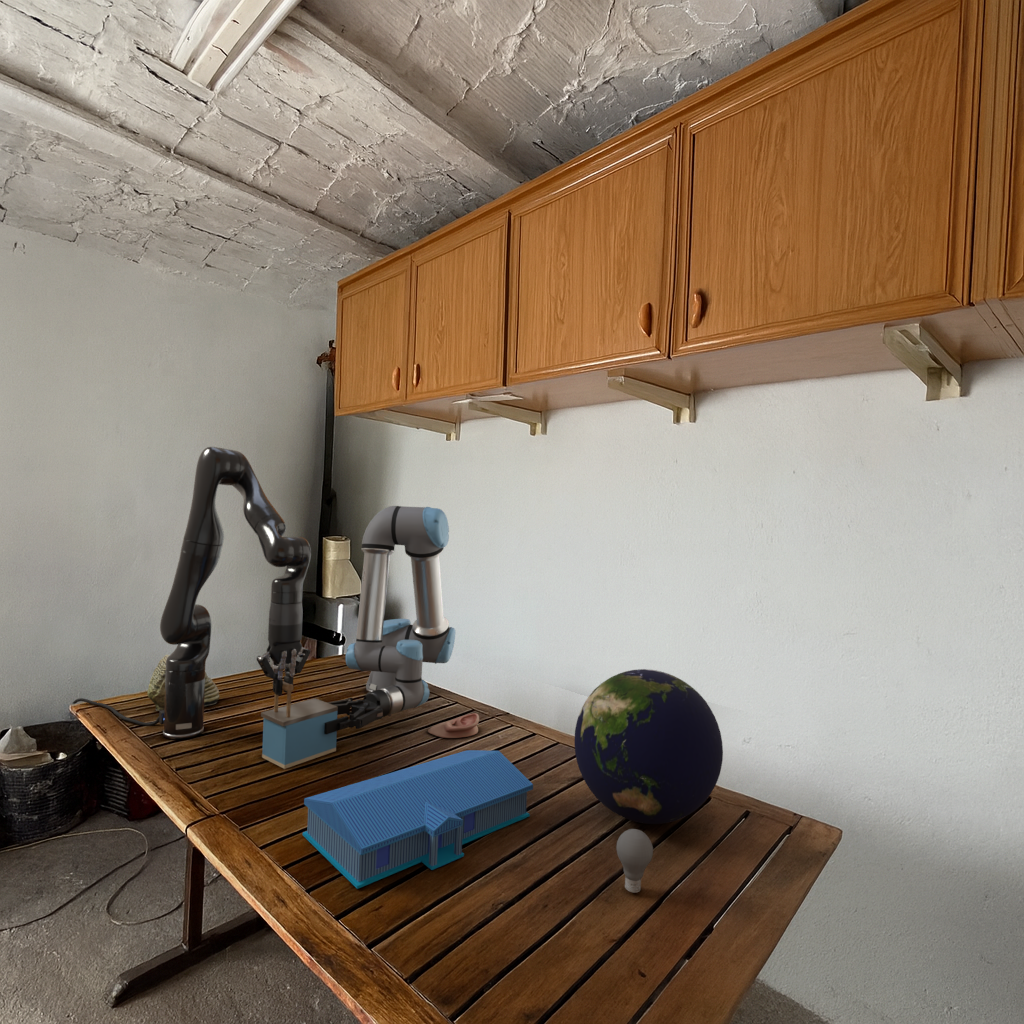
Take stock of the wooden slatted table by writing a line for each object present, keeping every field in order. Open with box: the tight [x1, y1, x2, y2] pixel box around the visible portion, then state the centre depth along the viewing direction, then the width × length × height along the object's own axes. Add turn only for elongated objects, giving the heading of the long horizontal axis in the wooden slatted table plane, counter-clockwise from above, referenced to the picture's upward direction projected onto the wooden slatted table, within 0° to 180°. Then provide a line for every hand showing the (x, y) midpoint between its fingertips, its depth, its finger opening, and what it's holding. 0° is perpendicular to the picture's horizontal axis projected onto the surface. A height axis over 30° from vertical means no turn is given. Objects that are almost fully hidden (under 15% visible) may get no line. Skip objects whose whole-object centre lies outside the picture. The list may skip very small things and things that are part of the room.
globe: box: [573, 668, 724, 825], centre depth 131 cm, size 30×30×30 cm
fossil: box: [147, 654, 221, 712], centre depth 185 cm, size 9×18×15 cm, turn 132°
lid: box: [260, 680, 338, 726], centre depth 154 cm, size 15×9×9 cm, turn 143°
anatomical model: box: [427, 712, 480, 739], centre depth 174 cm, size 13×4×12 cm
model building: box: [302, 749, 534, 890], centre depth 123 cm, size 39×24×10 cm, turn 132°
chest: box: [261, 711, 338, 770], centre depth 155 cm, size 14×9×10 cm, turn 143°
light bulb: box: [615, 828, 654, 894], centre depth 106 cm, size 6×6×10 cm
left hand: (282, 693), depth 150 cm, fingers closed on lid, 2 cm apart
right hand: (313, 723), depth 158 cm, fingers closed on chest, 9 cm apart
